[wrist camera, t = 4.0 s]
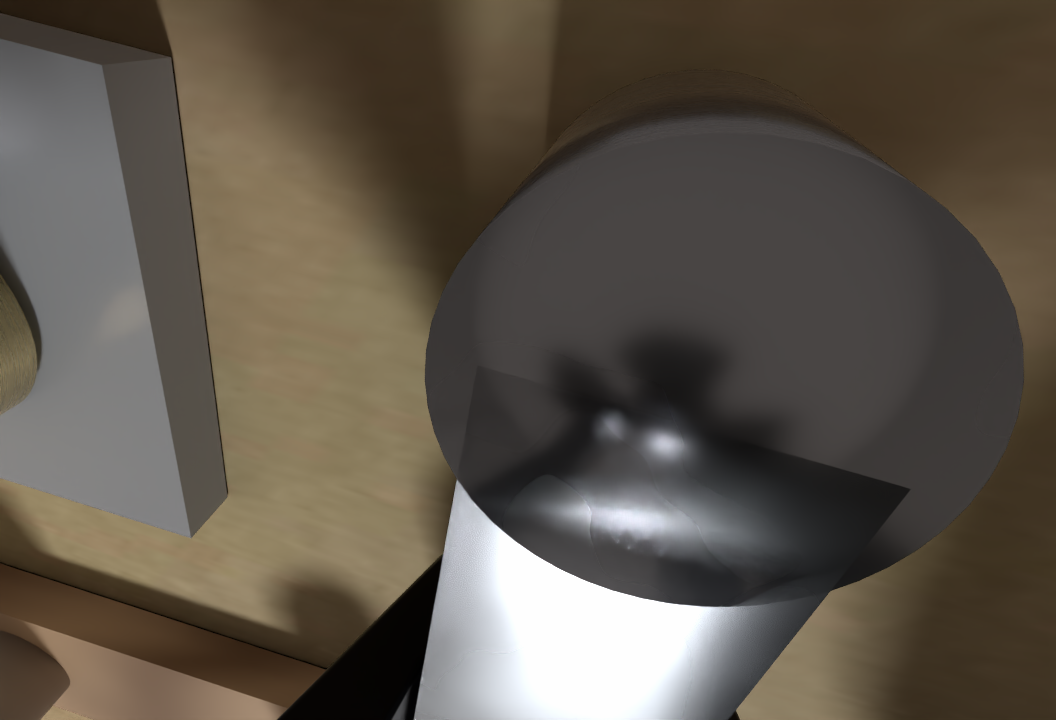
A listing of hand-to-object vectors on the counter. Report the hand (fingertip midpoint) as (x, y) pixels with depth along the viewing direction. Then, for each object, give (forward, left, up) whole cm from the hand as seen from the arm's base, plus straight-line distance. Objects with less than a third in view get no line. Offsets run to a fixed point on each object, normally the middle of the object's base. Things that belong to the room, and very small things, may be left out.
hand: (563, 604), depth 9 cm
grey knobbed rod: (0, 0, -1) cm, 1 cm away
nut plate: (+12, -2, -2) cm, 12 cm away
